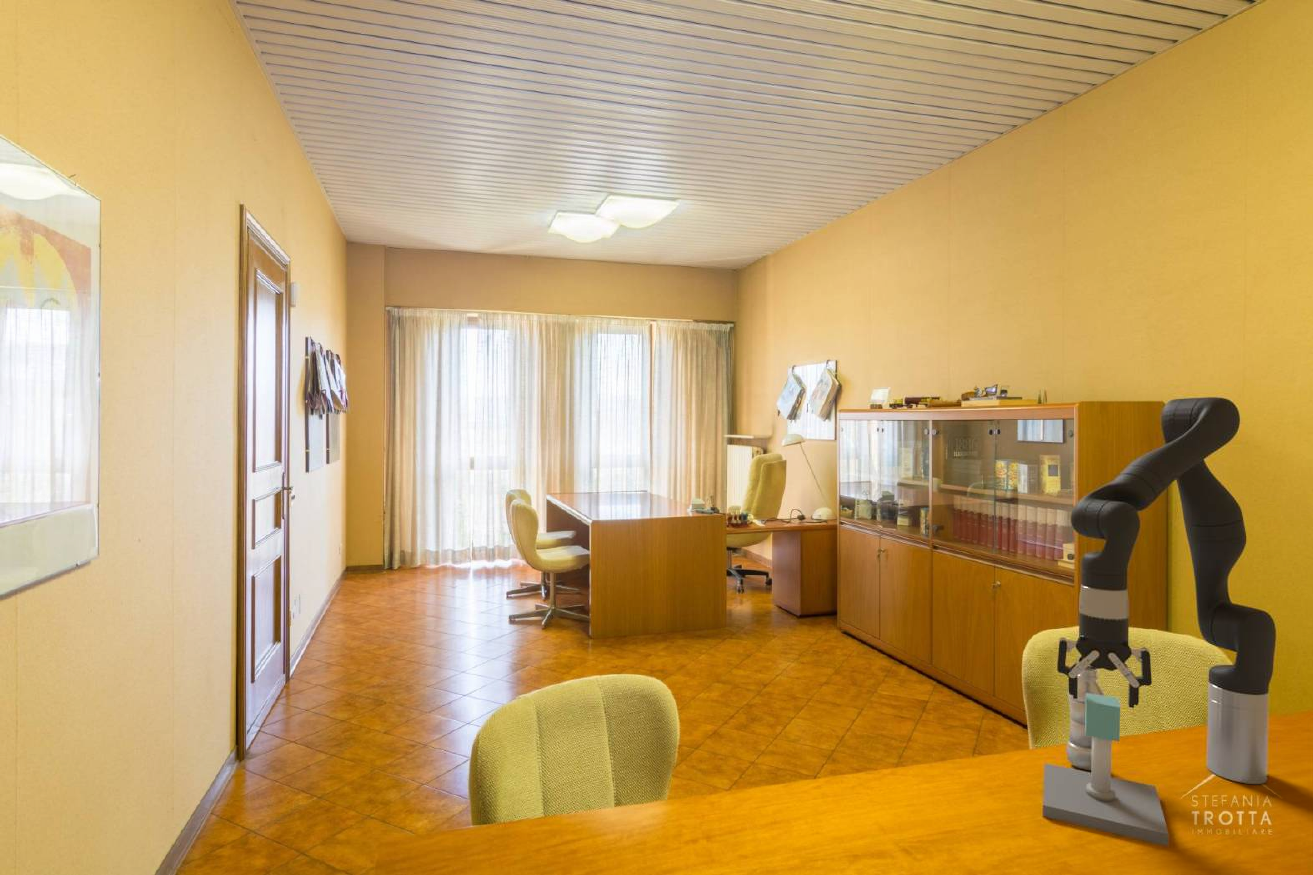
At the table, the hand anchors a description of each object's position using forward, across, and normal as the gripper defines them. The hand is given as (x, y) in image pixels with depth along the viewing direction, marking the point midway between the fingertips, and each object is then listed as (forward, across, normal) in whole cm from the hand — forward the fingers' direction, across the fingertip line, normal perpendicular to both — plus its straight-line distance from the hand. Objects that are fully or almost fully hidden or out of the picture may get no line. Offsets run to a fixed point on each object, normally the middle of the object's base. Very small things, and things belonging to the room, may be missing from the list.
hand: (1102, 701), depth 129 cm
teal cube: (+6, 0, 0) cm, 6 cm away
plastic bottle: (+19, +2, -16) cm, 25 cm away
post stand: (+19, 0, 0) cm, 19 cm away
